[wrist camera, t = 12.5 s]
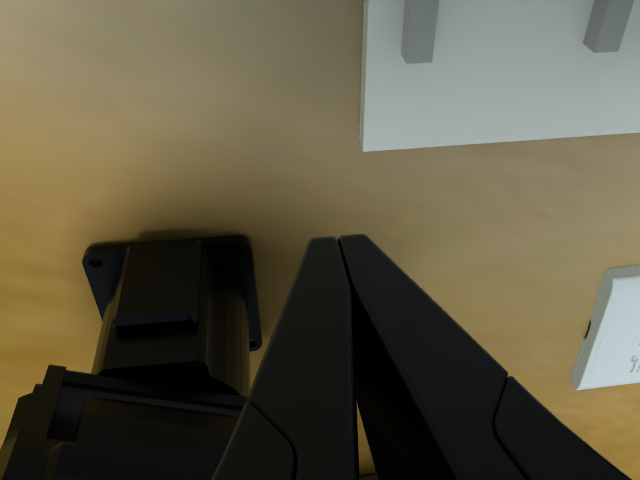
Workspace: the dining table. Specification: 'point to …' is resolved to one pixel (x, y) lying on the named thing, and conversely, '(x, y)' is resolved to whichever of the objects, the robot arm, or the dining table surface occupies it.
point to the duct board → (497, 71)
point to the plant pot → (369, 477)
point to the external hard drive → (612, 334)
